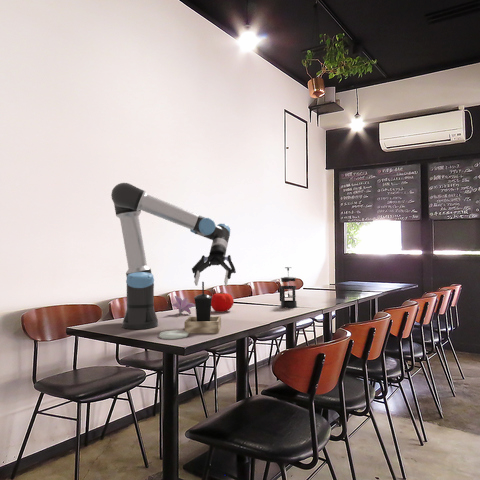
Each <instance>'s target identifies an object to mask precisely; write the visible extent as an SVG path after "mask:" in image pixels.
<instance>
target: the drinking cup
mask: <svg viewBox="0 0 480 480" xmlns="http://www.w3.org/2000/svg"><path fill="white" fill-rule="evenodd" d="M201 284H202V286H201V293H200V294H197V295H195V296H194V297H193V299H194V304H195V306H194V307H195V315H196V316H195V317H197V321H210V316H211V313H212V312H211V311H212V306H211V302H212V296H213V295H212V296H211V295H209V294H206V293H205V283H204V281H202V282H201Z"/></svg>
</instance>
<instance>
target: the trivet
mask: <svg viewBox="0 0 480 480" xmlns="http://www.w3.org/2000/svg"><path fill="white" fill-rule="evenodd" d="M158 335H159V338H160V339H163V340H179V339H186V338H188V337H189V333H188V332H187V331H185V330H179V329H178V330H176V329H175V330H166V331H161V332H160V333H159V334H158Z"/></svg>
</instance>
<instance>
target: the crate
mask: <svg viewBox="0 0 480 480" xmlns="http://www.w3.org/2000/svg"><path fill="white" fill-rule="evenodd" d="M221 328H222V316H219V315H218V316H217V315H216V316H214V315H213V316H211V315H210V321H197V317H196V316H189V317H188V318H187V319H186V320H185V321H184V331H187V332H188V334H219V332H220V330H221Z"/></svg>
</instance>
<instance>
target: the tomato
mask: <svg viewBox="0 0 480 480" xmlns="http://www.w3.org/2000/svg"><path fill="white" fill-rule="evenodd" d="M234 301H235V300H234V297H233V296H232V294H230V293H228V292H223V291H220V292H217V293H214V294H213V295H212V302H211V309H213V311H215V312H217V313H222V312H227V311H229V310H231V309H232V307H233V306H234Z"/></svg>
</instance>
